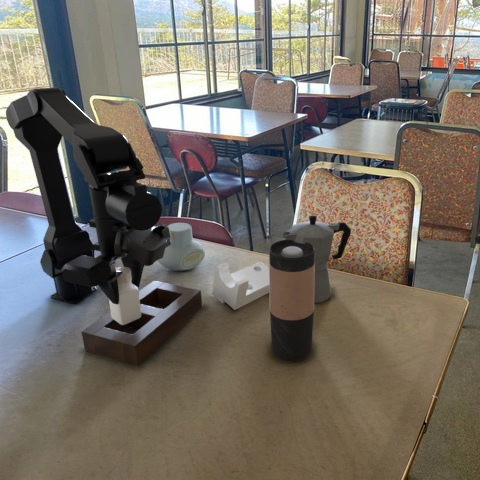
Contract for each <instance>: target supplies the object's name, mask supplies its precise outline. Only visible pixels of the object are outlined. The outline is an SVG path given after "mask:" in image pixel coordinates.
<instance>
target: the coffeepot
mask: <svg viewBox="0 0 480 480" xmlns="http://www.w3.org/2000/svg"><path fill="white" fill-rule="evenodd" d="M317 218H318V217H317V215H315V214H314V215H312V214H311V215H309V216H308V219H309V221H301V222H299V223H296V224H293V225H291V228H290V229H287V230H284V232H282V234H281V238H282V239H283V238H284V240H287V239H291V240H294V241H295V242H297V243H305V242H309V243H311V244H312V245H313V246H314V248H315V286H314V304H318V303H322V302H325V301H327V300H328V299H329V298H331V297H332V290H331V279H330V273H329V265H328V262H329V260H330V255H331V249H332V245H333V241H334V234H336V233H339V232H343V233H342V234H341V238H340V242H339V245H338V247H337V252H336V253H335V254H332V256H331V257H332V259H333V260H338V259H341V258H342V257H343V255H344V252H345V249H346V246H347V244H348V241H349V238H350V236H351V234H352V228H351V227H350V226H349V225H348V224H347V223H346V222H343V221H342V222H331V223H329V224H328V223H325V222H323V221H317Z"/></svg>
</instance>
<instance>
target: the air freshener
mask: <svg viewBox="0 0 480 480" xmlns="http://www.w3.org/2000/svg"><path fill="white" fill-rule="evenodd" d="M166 226H167V227H168V228H169V232H170V242H171V245H170V246H168V247H166V248H165V252H164V256H163V258H161V259H159V260H157V262H158V263H159V265H160V266H162V267H163V268H165V269H167V270H170V271H176V272H177V271H178V272H183V271H189V270H193V268H195V267H197V266H198V265H200V264H201V263H202V261H203V260H204V258H205V255H206V254H205V253H206V252H205V248H204V246H203V245H202V244H201V243H200V242H198V241H196V240H194V239H193V229H192V225H191V224H189V223H186V222H175V223H170V224H168V225H166Z"/></svg>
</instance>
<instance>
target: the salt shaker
mask: <svg viewBox="0 0 480 480" xmlns="http://www.w3.org/2000/svg"><path fill="white" fill-rule="evenodd" d="M115 268H116V271H121V272H123V273H122V274H121V275H120V276H119V277H118V279H117V280H118V290H119V304H113V303H112V302H111V301H110V299H109V298H108V302H109V312H110V311H111V317H112V318H113V319H114V320H115V321H117V322H118V323H119V324H121V325H125V324H127V323H130V322H132V321H134V320H137V319H139V318H140V317H141V309H140V300H139V291H140V290H139V289H138V287H136V286H135V285H134V284H132V281H131V280H132V276H131V270H130V268H128V267H124V266H119V267H115Z"/></svg>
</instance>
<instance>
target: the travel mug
mask: <svg viewBox="0 0 480 480" xmlns="http://www.w3.org/2000/svg"><path fill="white" fill-rule="evenodd" d="M268 262H269V263H268V266H269V267H268V268H269V293H268V294H269V321H270V325H269V326H270V340H271V351H272V354H273V356H274V357H275V358H276V359H278V360H280V361H283V362H287V363H296V362H301V361H303V360H305V359H307V358H308V357H309V356H310V355H311V353H312V349H313V337H314V319H315V303H314V286H315V248H314V246H313V245H312V244H311V243H309V242H305V243H297V242H295V241H294V240H291V239H287V240H286V239H282V240H278V241H275V242H273V243H272V244H271V245H270V246H269V248H268Z"/></svg>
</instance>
